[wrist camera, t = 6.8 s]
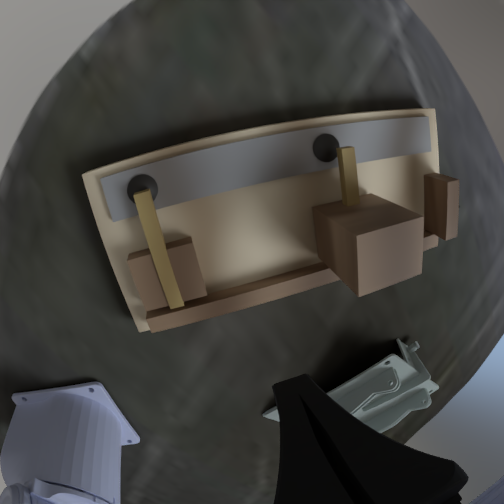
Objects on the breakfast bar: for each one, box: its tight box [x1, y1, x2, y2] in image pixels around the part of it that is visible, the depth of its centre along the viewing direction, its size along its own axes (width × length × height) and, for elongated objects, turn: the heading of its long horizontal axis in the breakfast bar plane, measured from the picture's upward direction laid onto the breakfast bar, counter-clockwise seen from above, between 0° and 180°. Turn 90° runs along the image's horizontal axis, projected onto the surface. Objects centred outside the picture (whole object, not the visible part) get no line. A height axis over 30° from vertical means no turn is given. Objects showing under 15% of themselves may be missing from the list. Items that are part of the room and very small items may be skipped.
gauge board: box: [82, 108, 459, 333], centre depth 18 cm, size 22×10×4 cm, turn 101°
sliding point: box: [312, 146, 424, 297], centre depth 16 cm, size 4×6×5 cm, turn 11°
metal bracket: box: [263, 338, 439, 433], centre depth 28 cm, size 14×6×15 cm
